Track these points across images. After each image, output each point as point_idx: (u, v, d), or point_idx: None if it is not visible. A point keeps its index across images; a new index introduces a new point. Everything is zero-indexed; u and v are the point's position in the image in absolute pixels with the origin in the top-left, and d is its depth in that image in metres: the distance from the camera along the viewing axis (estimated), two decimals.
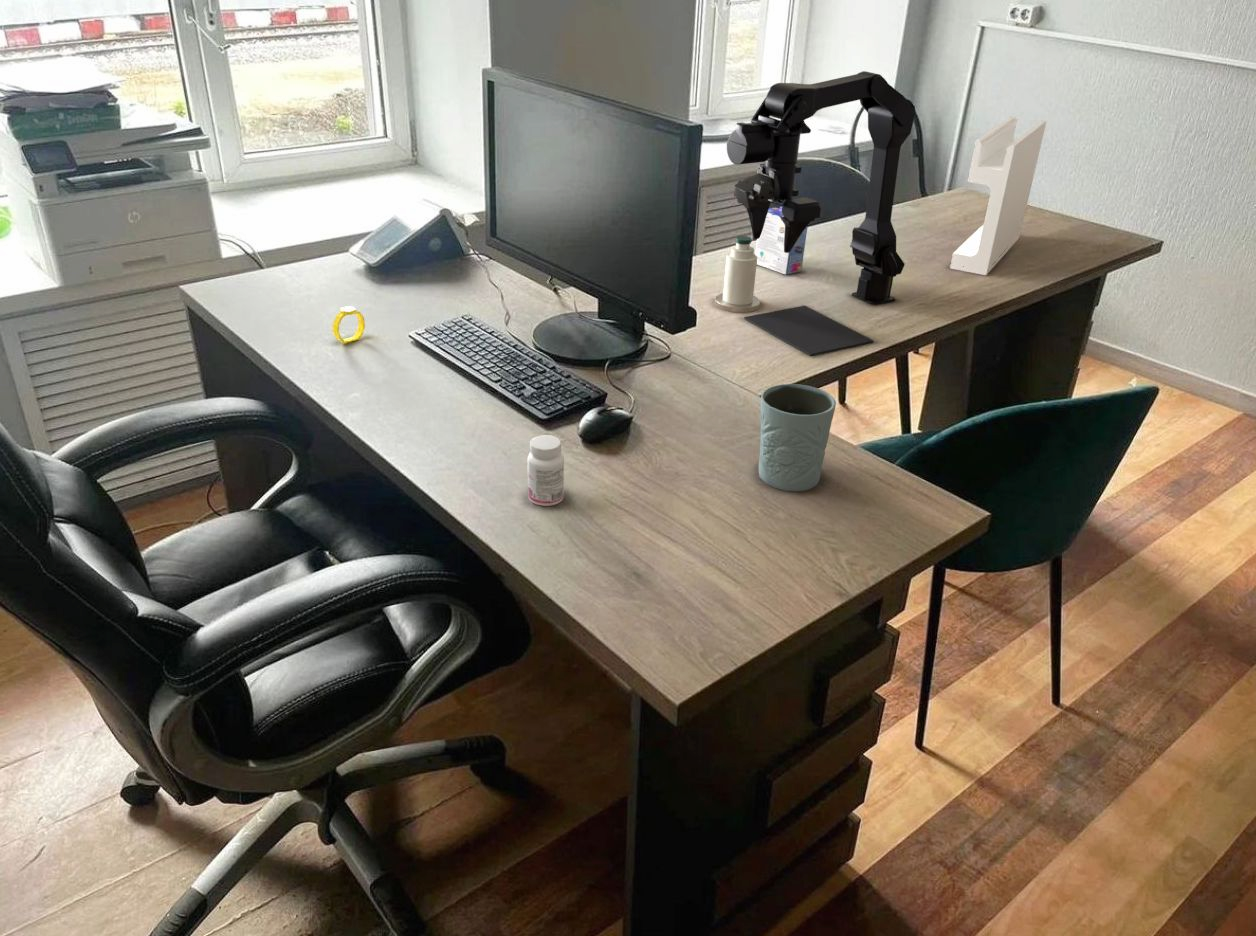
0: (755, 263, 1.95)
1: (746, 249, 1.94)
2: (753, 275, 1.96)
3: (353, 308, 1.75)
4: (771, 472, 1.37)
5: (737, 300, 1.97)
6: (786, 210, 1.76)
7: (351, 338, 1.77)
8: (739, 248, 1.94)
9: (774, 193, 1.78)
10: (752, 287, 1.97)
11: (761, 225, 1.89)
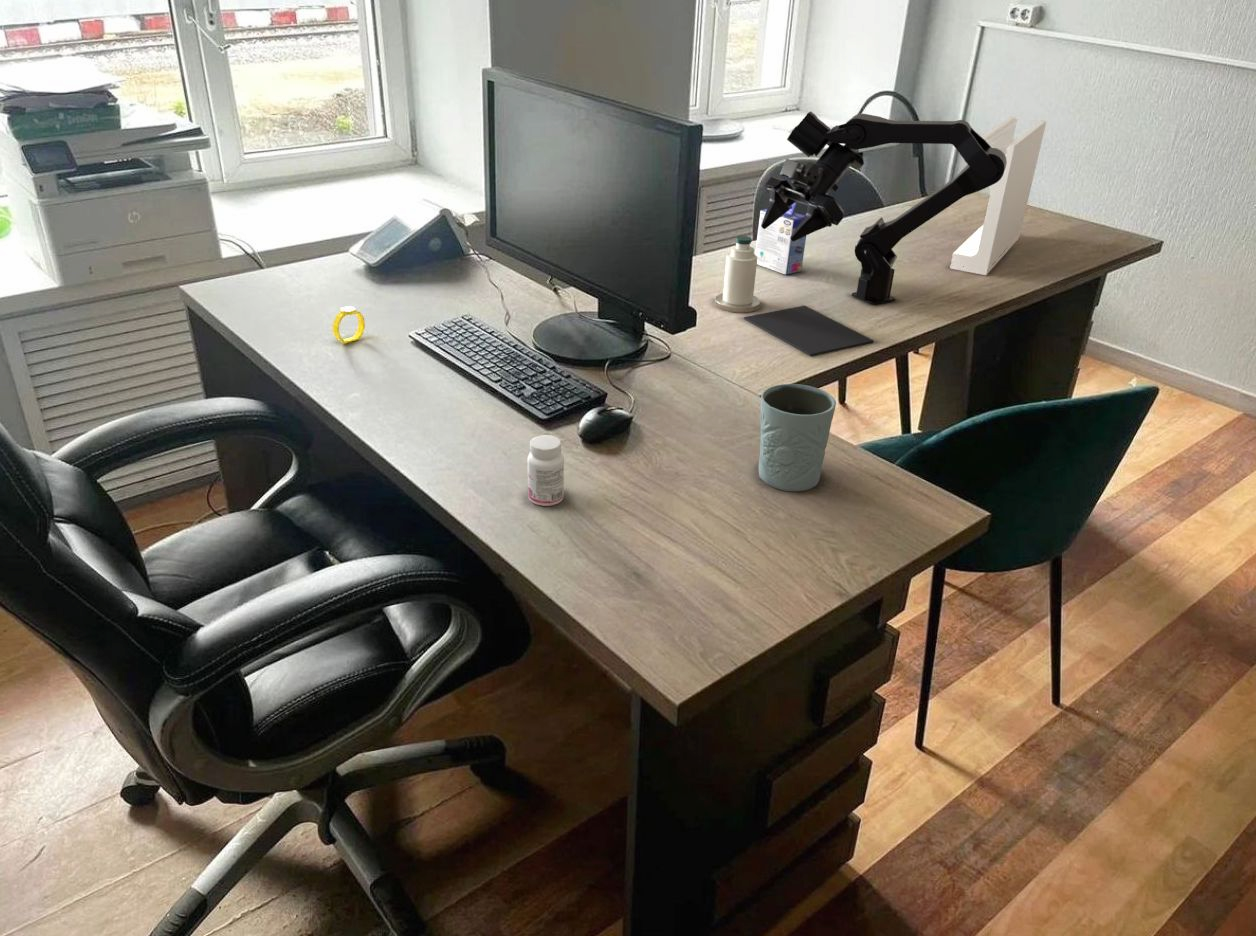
0: (755, 263, 1.95)
1: (746, 249, 1.94)
2: (753, 275, 1.96)
3: (353, 308, 1.75)
4: (771, 472, 1.37)
5: (737, 300, 1.97)
6: (819, 197, 1.90)
7: (351, 338, 1.77)
8: (739, 248, 1.94)
9: (813, 185, 1.93)
10: (752, 287, 1.97)
11: (772, 220, 2.01)
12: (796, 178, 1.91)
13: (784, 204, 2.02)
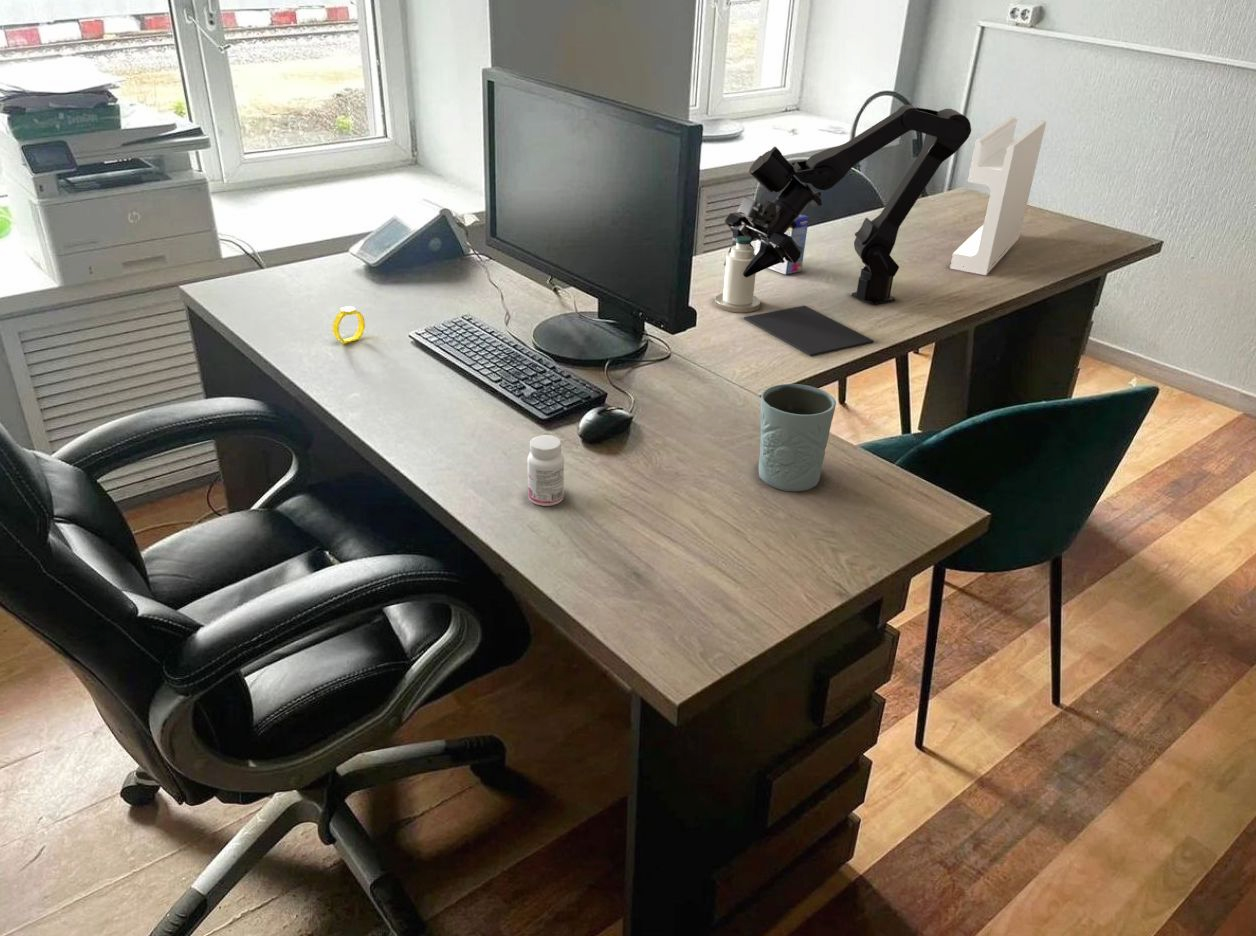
0: None
1: (746, 249, 1.94)
2: (753, 275, 1.96)
3: (353, 308, 1.75)
4: (771, 472, 1.37)
5: (737, 300, 1.97)
6: (776, 236, 1.89)
7: (351, 338, 1.77)
8: (739, 248, 1.94)
9: (771, 223, 1.92)
10: (752, 287, 1.97)
11: None
12: (753, 217, 1.90)
13: None
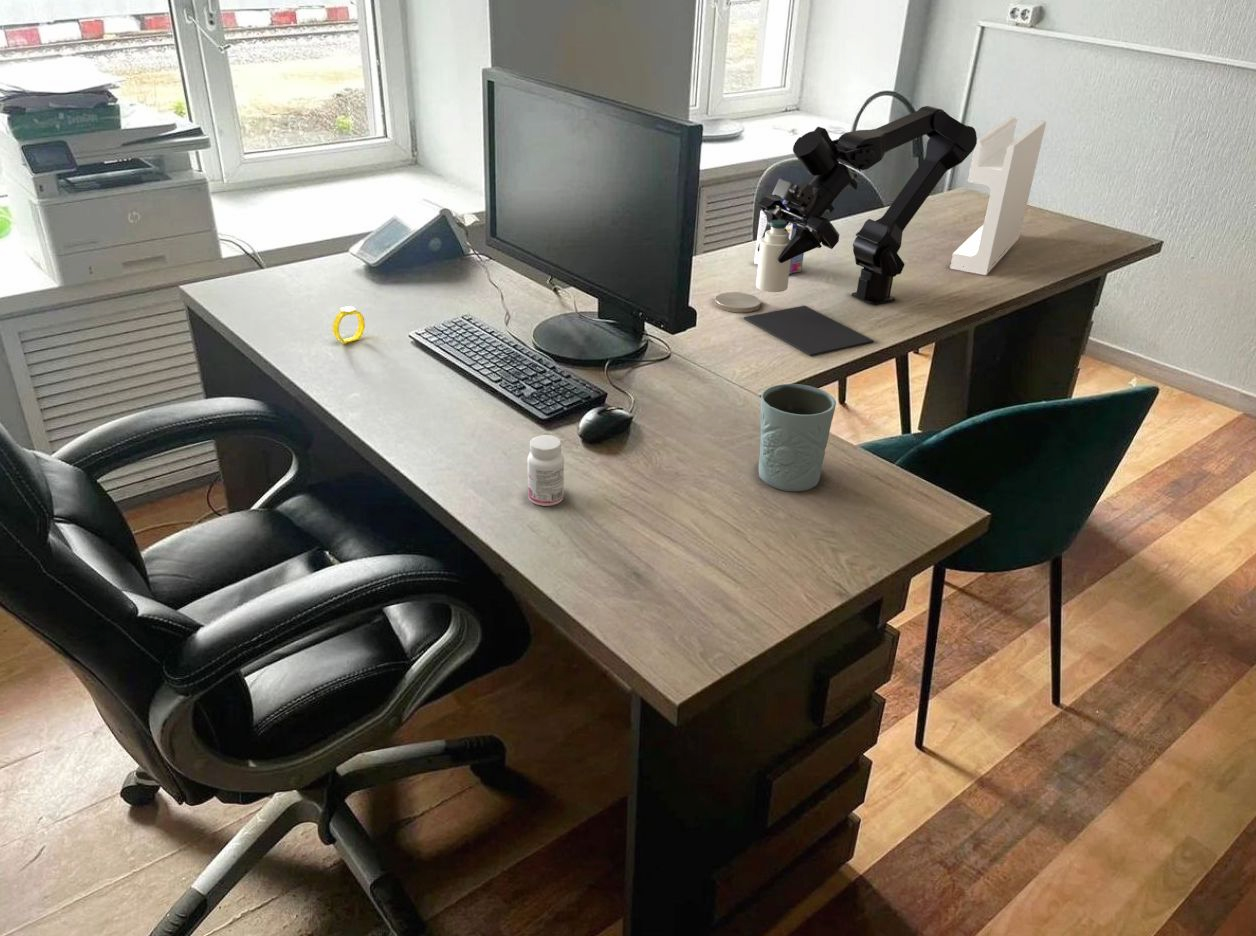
0: None
1: (781, 233, 1.85)
2: (788, 261, 1.87)
3: (353, 308, 1.75)
4: (771, 472, 1.37)
5: (772, 287, 1.89)
6: (813, 220, 1.81)
7: (351, 338, 1.77)
8: (774, 232, 1.85)
9: (807, 206, 1.83)
10: (787, 273, 1.89)
11: None
12: (789, 199, 1.81)
13: None
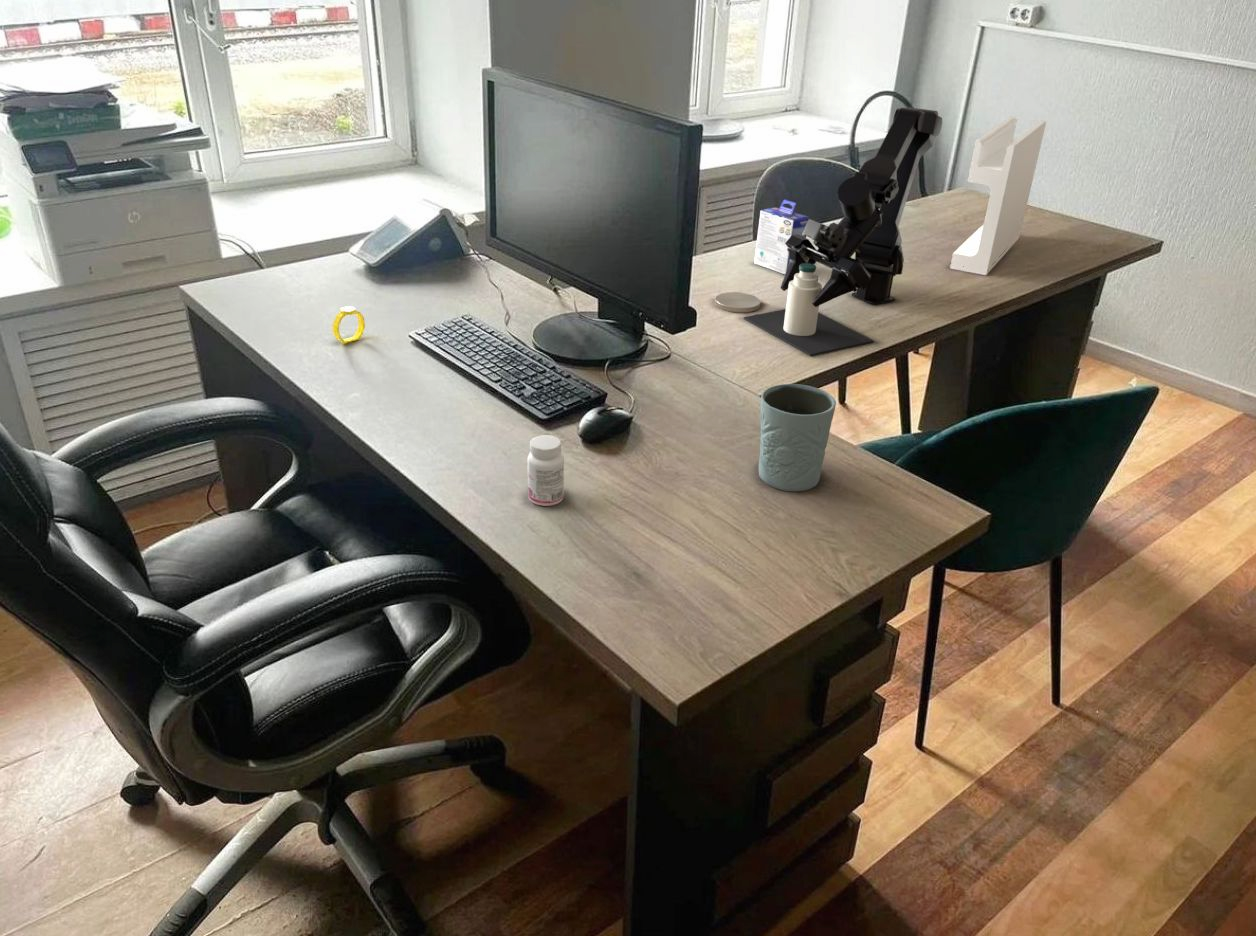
0: None
1: (810, 277, 1.82)
2: None
3: (353, 308, 1.75)
4: (771, 472, 1.37)
5: (800, 331, 1.86)
6: (844, 261, 1.78)
7: (351, 338, 1.77)
8: (803, 276, 1.83)
9: (837, 246, 1.80)
10: (816, 317, 1.86)
11: None
12: (819, 240, 1.78)
13: None
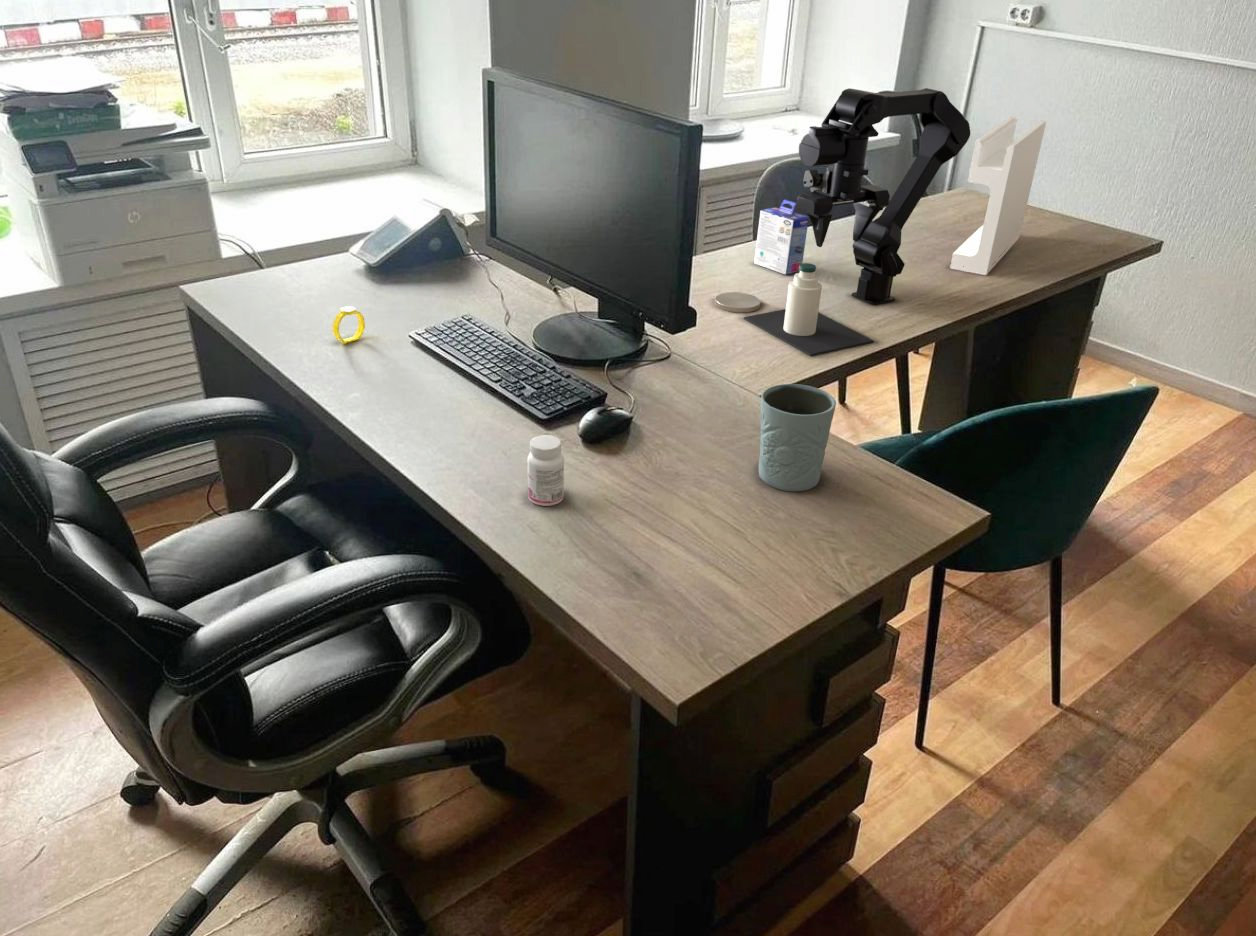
0: (819, 292, 1.84)
1: (810, 277, 1.82)
2: (817, 305, 1.84)
3: (353, 308, 1.75)
4: (771, 472, 1.37)
5: (800, 331, 1.86)
6: None
7: (351, 338, 1.77)
8: (803, 276, 1.83)
9: (823, 186, 1.91)
10: (816, 317, 1.86)
11: (859, 229, 1.95)
12: (811, 190, 1.95)
13: (866, 208, 1.93)
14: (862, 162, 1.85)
